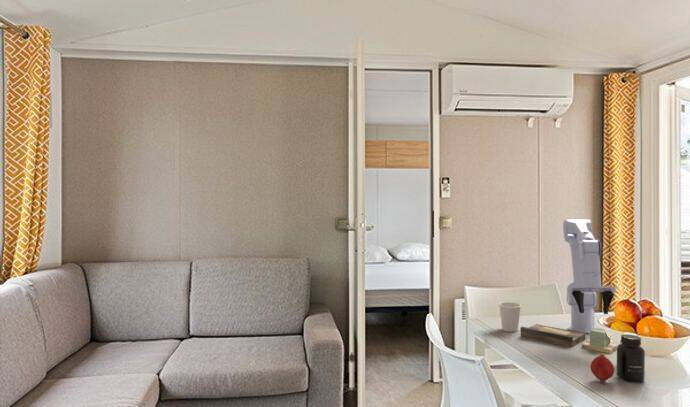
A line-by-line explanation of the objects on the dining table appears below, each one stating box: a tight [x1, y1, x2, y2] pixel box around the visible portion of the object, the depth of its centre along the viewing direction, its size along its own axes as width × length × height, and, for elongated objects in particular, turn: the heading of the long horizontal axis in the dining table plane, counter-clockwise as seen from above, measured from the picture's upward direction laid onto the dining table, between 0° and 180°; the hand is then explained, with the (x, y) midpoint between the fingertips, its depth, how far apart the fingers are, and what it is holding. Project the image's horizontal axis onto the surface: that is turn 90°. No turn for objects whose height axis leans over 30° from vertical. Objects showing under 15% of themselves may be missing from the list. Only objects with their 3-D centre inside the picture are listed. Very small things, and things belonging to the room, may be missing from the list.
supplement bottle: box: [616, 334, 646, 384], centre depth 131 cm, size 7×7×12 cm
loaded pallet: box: [581, 325, 617, 354], centre depth 158 cm, size 9×9×6 cm
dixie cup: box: [498, 301, 522, 333], centre depth 181 cm, size 8×8×10 cm
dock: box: [519, 323, 586, 348], centre depth 170 cm, size 14×18×4 cm
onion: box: [590, 352, 615, 383], centre depth 129 cm, size 6×6×8 cm
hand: (593, 313), depth 159 cm, fingers open, 7 cm apart
